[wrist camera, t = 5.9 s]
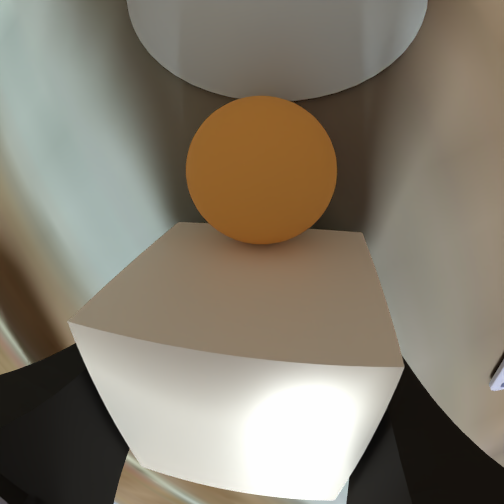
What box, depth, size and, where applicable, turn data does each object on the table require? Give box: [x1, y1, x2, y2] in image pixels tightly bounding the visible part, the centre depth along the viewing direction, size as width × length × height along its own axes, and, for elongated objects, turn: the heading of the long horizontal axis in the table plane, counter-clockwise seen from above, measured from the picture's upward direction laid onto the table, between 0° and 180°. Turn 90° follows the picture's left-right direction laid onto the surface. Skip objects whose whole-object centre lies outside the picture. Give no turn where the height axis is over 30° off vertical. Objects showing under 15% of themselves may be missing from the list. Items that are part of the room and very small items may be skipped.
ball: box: [186, 96, 337, 244], centre depth 8 cm, size 4×4×4 cm
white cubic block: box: [68, 222, 405, 500], centre depth 8 cm, size 6×6×6 cm
